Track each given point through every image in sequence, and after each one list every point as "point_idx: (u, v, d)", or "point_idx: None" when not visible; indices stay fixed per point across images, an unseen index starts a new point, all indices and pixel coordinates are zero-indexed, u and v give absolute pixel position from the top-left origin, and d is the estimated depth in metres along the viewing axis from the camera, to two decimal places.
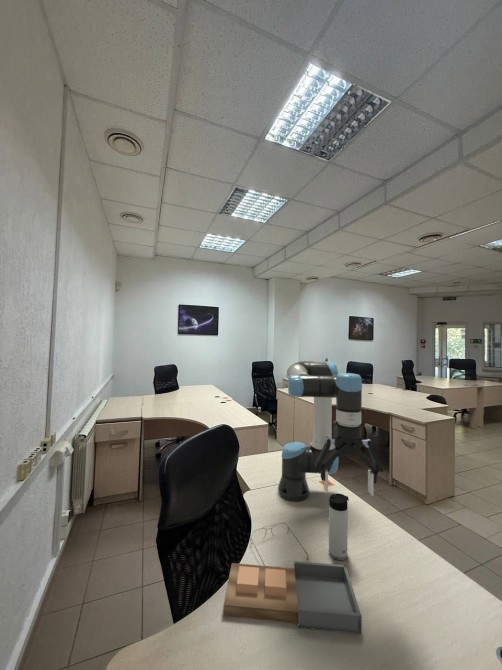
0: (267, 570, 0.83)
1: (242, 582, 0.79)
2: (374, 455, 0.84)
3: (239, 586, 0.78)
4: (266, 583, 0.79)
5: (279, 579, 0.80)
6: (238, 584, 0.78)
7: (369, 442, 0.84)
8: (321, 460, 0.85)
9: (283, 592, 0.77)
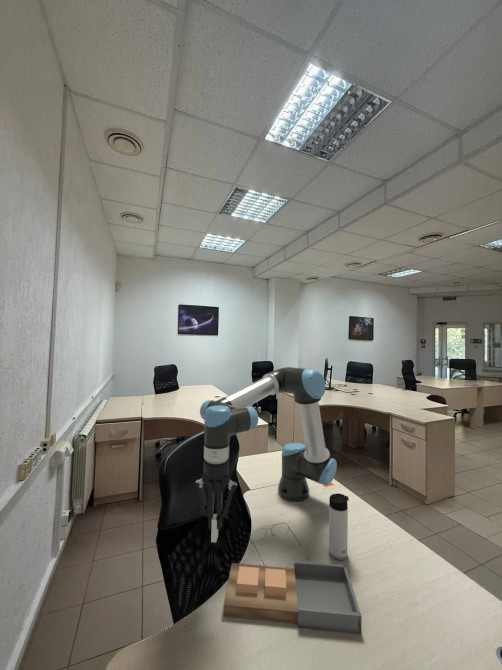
0: (267, 570, 0.83)
1: (242, 582, 0.79)
2: (229, 500, 0.81)
3: (239, 586, 0.78)
4: (266, 583, 0.79)
5: (279, 579, 0.80)
6: (238, 584, 0.78)
7: (233, 486, 0.81)
8: (202, 506, 0.81)
9: (283, 592, 0.77)
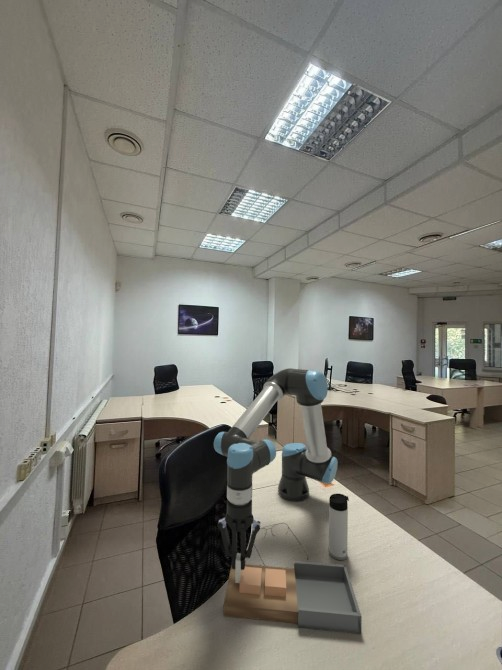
0: (267, 570, 0.83)
1: (245, 582, 0.79)
2: (253, 540, 0.80)
3: (242, 586, 0.78)
4: (266, 583, 0.79)
5: (279, 579, 0.80)
6: (241, 584, 0.78)
7: (257, 527, 0.80)
8: (226, 546, 0.81)
9: (283, 592, 0.77)
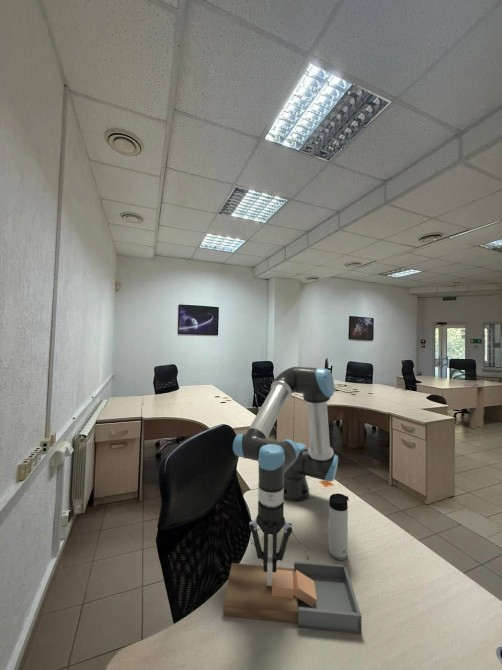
0: (298, 572, 0.82)
1: (277, 585, 0.78)
2: (285, 543, 0.79)
3: (274, 589, 0.77)
4: (299, 585, 0.78)
5: (310, 588, 0.79)
6: (273, 588, 0.77)
7: (290, 529, 0.79)
8: (258, 549, 0.80)
9: (311, 602, 0.76)
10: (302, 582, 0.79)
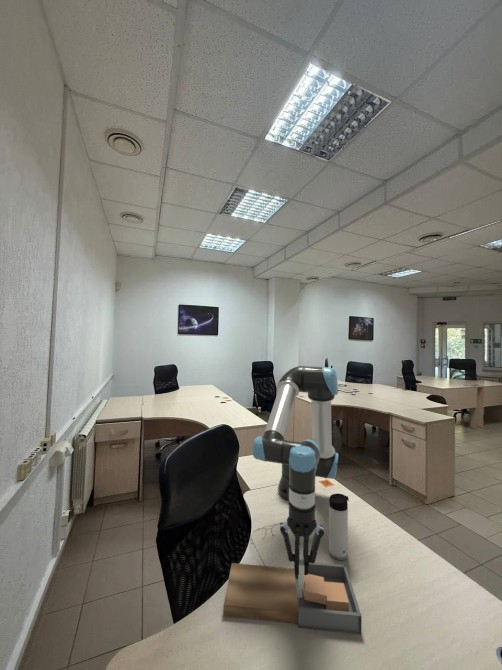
0: (325, 583, 0.81)
1: (310, 590, 0.77)
2: (317, 545, 0.78)
3: (307, 594, 0.76)
4: (327, 597, 0.77)
5: (340, 593, 0.78)
6: (307, 592, 0.77)
7: (322, 531, 0.78)
8: (289, 551, 0.79)
9: (345, 607, 0.75)
10: (331, 591, 0.79)
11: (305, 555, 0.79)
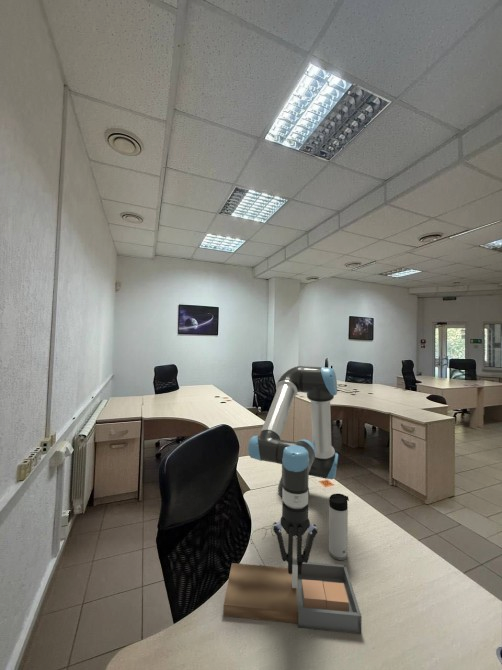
0: (325, 583, 0.81)
1: (309, 596, 0.77)
2: (310, 545, 0.79)
3: (307, 601, 0.76)
4: (327, 597, 0.77)
5: (340, 593, 0.78)
6: (306, 599, 0.76)
7: (315, 531, 0.79)
8: (282, 551, 0.79)
9: (345, 607, 0.75)
10: (331, 591, 0.79)
11: (298, 554, 0.79)
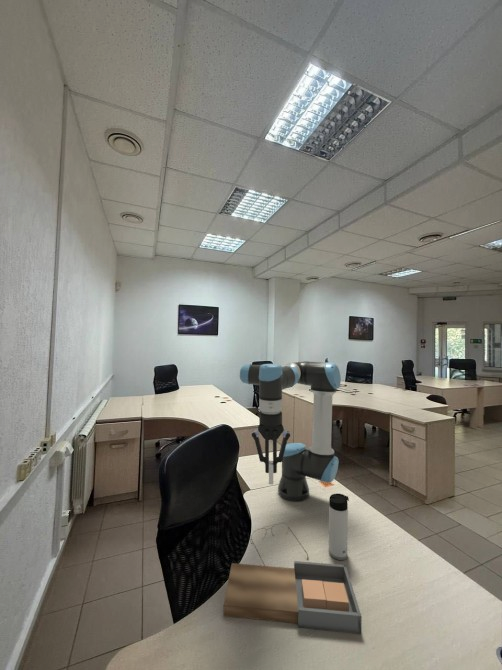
0: (325, 583, 0.81)
1: (309, 596, 0.77)
2: (284, 446, 0.90)
3: (307, 601, 0.76)
4: (327, 597, 0.77)
5: (340, 593, 0.78)
6: (306, 599, 0.76)
7: (288, 434, 0.89)
8: (260, 453, 0.90)
9: (345, 607, 0.75)
10: (331, 591, 0.79)
11: (274, 455, 0.90)
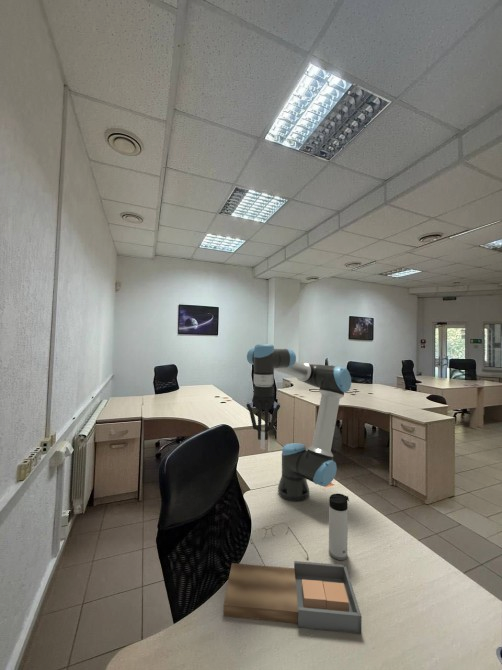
0: (325, 583, 0.81)
1: (309, 596, 0.77)
2: (274, 416, 1.02)
3: (307, 601, 0.76)
4: (327, 597, 0.77)
5: (340, 593, 0.78)
6: (306, 599, 0.76)
7: (278, 405, 1.02)
8: (253, 421, 1.03)
9: (345, 607, 0.75)
10: (331, 591, 0.79)
11: (265, 424, 1.02)
